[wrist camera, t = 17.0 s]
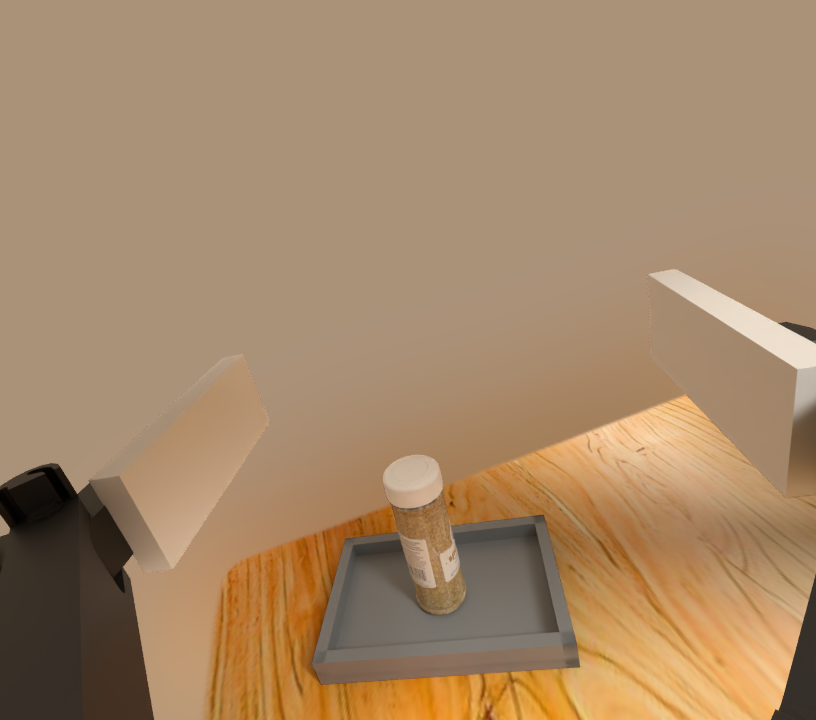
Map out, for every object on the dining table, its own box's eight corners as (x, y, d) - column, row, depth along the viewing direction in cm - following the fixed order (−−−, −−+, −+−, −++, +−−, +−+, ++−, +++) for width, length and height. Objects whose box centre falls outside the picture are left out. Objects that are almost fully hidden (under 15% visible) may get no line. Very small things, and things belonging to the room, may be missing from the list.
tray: (546, 534, 46) (543, 514, 45) (579, 667, 34) (576, 643, 33) (352, 556, 50) (345, 538, 49) (321, 684, 38) (311, 664, 37)
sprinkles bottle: (477, 600, 40) (449, 472, 35) (429, 627, 39) (393, 497, 34) (452, 565, 44) (423, 445, 39) (408, 588, 43) (373, 466, 38)
